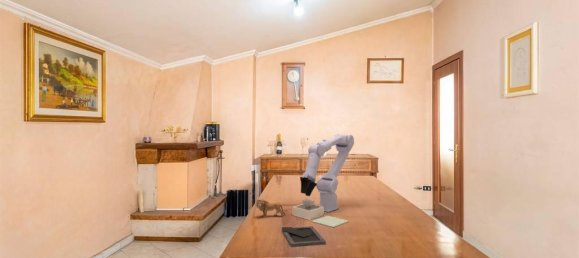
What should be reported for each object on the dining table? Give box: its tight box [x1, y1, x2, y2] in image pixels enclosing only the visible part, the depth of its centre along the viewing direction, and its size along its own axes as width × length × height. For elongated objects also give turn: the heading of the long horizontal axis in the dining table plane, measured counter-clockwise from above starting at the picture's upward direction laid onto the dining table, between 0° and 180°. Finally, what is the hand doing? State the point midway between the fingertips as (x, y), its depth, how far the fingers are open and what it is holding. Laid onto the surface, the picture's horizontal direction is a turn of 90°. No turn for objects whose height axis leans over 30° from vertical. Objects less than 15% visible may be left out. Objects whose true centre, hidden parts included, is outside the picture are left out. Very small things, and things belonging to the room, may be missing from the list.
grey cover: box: [297, 198, 320, 211], centre depth 156 cm, size 9×9×4 cm
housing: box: [291, 203, 325, 221], centre depth 156 cm, size 11×11×4 cm
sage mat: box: [311, 215, 349, 228], centre depth 146 cm, size 12×12×1 cm
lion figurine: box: [255, 198, 286, 219], centre depth 154 cm, size 15×5×9 cm, turn 108°
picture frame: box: [281, 225, 327, 248], centre depth 126 cm, size 13×2×18 cm
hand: (305, 194), depth 155 cm, fingers open, 7 cm apart
